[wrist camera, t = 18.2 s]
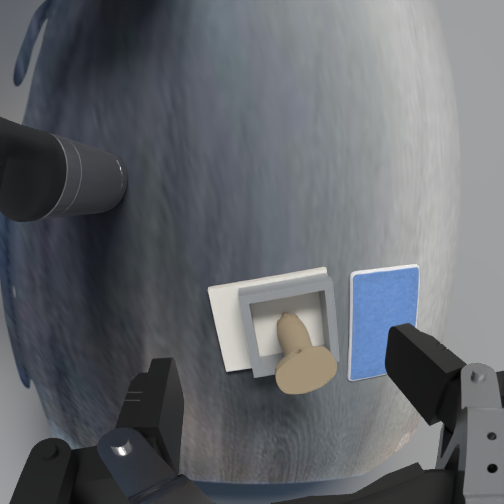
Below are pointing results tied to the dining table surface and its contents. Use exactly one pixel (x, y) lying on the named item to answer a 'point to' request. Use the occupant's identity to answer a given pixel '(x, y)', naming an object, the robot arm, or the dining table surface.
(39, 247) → the dining table surface
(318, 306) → the open box
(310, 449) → the dining table surface
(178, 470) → the robot arm
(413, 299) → the tablet computer
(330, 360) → the handle
